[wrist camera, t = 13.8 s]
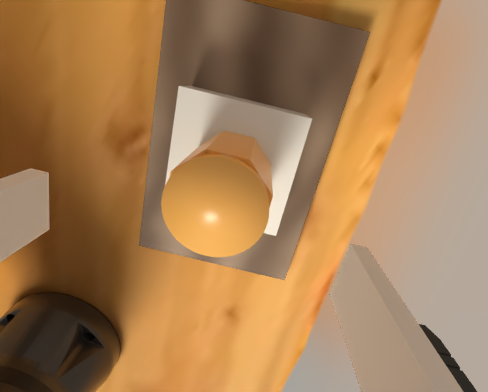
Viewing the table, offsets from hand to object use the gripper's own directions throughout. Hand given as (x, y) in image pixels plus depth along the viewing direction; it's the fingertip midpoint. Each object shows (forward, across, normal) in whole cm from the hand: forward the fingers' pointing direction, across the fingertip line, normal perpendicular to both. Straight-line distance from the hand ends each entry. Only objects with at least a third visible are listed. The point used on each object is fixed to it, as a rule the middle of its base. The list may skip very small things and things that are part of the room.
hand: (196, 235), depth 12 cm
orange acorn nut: (+11, 0, 0) cm, 11 cm away
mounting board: (+16, 0, 0) cm, 17 cm away
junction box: (+15, 0, 0) cm, 15 cm away
